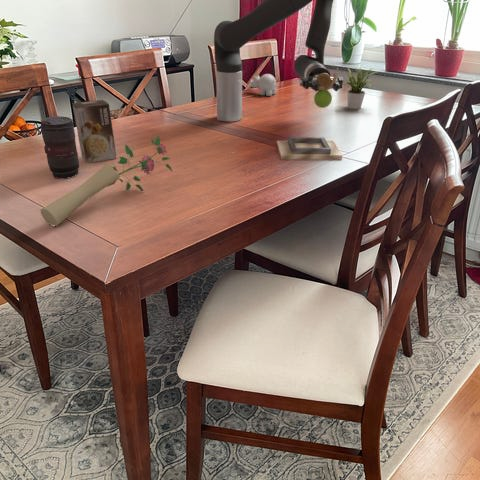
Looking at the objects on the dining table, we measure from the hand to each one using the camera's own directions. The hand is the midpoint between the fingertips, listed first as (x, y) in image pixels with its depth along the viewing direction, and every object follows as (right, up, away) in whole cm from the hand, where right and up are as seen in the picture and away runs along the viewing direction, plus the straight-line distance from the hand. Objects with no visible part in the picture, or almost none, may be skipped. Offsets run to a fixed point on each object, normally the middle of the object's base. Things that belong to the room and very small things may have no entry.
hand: (327, 87), depth 147 cm
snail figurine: (0, -5, +6) cm, 7 cm away
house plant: (+21, +7, +50) cm, 55 cm away
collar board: (-5, -19, +3) cm, 20 cm away
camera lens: (-74, -28, -14) cm, 80 cm away
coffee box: (-68, -22, -3) cm, 72 cm away
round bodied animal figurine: (-16, +19, +70) cm, 74 cm away
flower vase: (-58, -37, -29) cm, 74 cm away
